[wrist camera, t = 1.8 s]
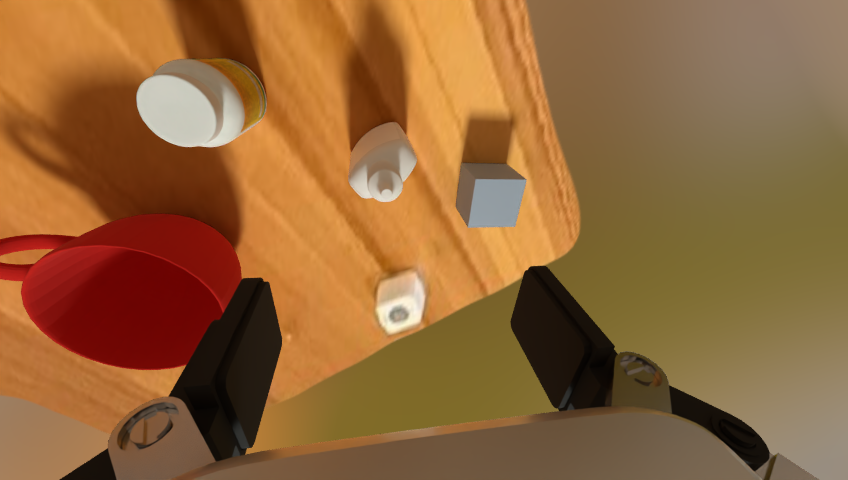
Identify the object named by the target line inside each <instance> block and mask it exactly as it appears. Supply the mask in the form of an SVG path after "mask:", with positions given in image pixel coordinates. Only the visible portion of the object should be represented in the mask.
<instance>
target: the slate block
mask: <svg viewBox="0 0 848 480" xmlns="http://www.w3.org/2000/svg"><path fill="white" fill-rule="evenodd" d="M525 184H526V179H525V178H524V177H523V176H521V175H520V174H519V173H517V172H516V171H515V170H514V169H512V168H511V167H510V166H509V165H507V164H495V163H461V169H460V176H459V184H458V192H457V199H456V208H457V210H458V212H459V213H460V215H461V217H462V218H463V220H464V222H465V223H466V225H467V227H468V228H470V227H515V225H516V221H517V217H518V213H519V208H520V204H521V200H522V196H523V192H524V188H525Z"/></svg>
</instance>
